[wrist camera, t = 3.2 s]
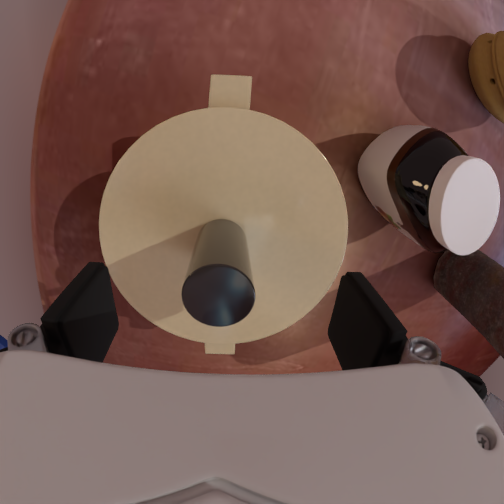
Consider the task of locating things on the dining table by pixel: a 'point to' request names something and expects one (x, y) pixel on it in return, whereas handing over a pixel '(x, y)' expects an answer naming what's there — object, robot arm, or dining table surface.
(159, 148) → the lid
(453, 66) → the dining table surface
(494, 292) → the candle
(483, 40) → the pot
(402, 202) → the spread jar
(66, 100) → the dining table surface
